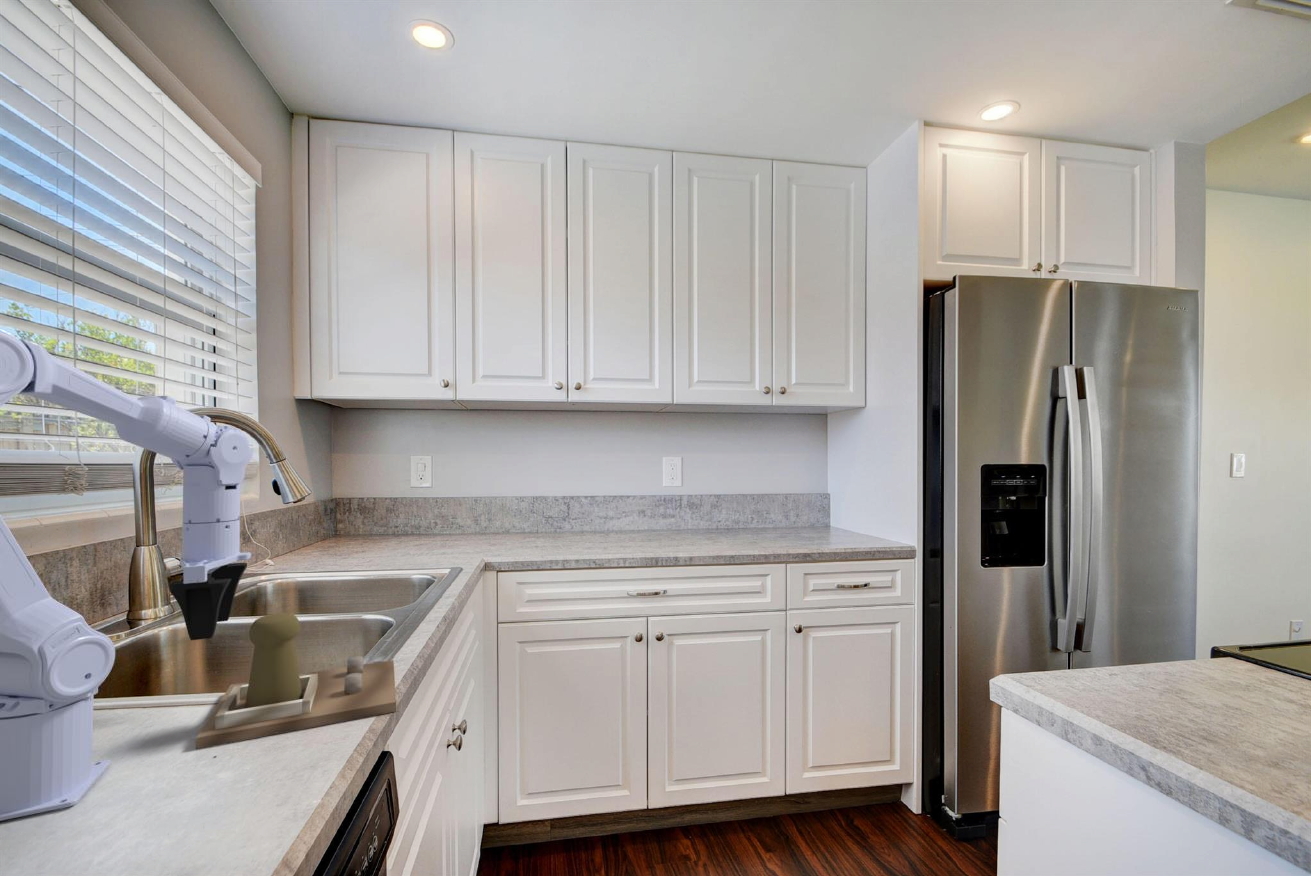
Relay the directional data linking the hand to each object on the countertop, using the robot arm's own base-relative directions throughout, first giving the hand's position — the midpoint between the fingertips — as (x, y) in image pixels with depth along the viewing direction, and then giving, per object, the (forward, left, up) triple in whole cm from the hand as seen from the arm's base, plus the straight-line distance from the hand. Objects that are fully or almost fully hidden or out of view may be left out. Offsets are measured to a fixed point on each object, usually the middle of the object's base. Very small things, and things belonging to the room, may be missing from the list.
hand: (210, 629), depth 71 cm
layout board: (+11, -2, -10) cm, 15 cm away
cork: (+7, -4, -9) cm, 13 cm away
